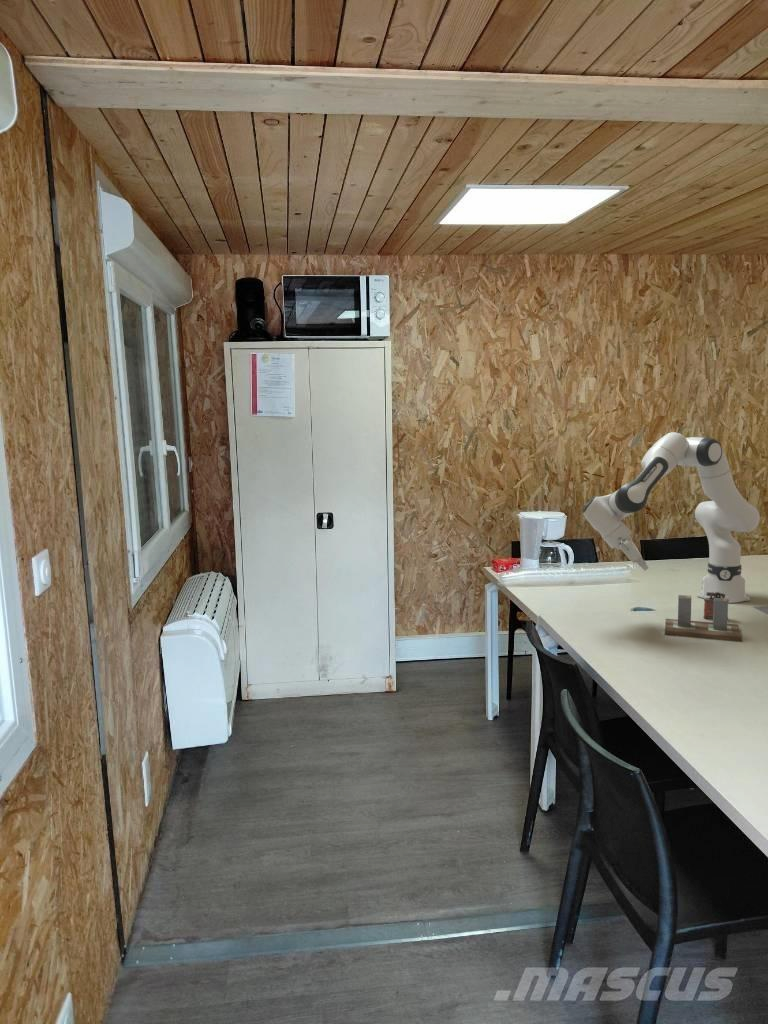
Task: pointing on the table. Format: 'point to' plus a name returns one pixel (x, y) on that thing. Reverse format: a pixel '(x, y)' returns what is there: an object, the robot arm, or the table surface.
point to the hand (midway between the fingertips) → (645, 567)
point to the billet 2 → (720, 614)
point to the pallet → (703, 630)
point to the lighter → (711, 604)
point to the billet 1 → (684, 611)
